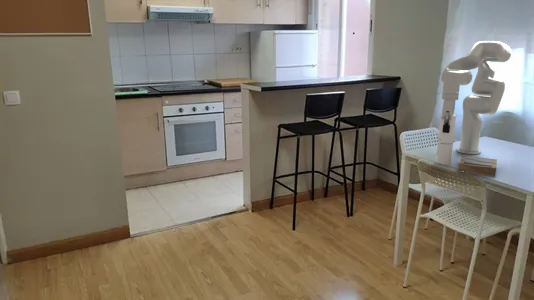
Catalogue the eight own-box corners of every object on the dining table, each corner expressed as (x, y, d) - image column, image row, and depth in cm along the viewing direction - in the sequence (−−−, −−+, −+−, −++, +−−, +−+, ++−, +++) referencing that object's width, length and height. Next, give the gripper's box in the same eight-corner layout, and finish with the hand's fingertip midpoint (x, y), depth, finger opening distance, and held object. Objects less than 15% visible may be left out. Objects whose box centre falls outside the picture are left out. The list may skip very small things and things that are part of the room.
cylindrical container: (445, 159, 220) (450, 113, 214) (453, 163, 214) (459, 115, 207) (433, 160, 219) (437, 114, 212) (441, 164, 212) (446, 116, 206)
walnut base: (460, 162, 215) (461, 154, 214) (495, 167, 208) (497, 158, 207) (457, 171, 202) (458, 163, 200) (495, 176, 194) (496, 167, 193)
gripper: (444, 93, 216) (440, 127, 221) (439, 98, 202) (436, 133, 206) (460, 94, 213) (456, 128, 217) (456, 99, 198) (452, 135, 203)
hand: (446, 130), depth 212 cm, fingers closed on cylindrical container, 7 cm apart
